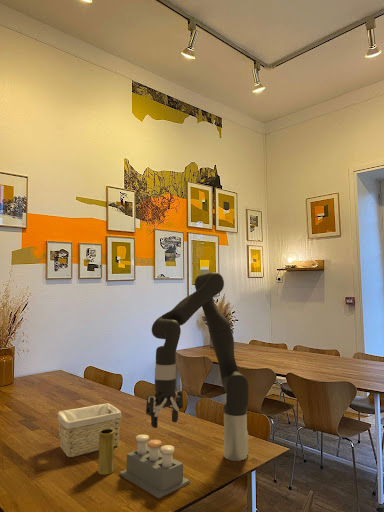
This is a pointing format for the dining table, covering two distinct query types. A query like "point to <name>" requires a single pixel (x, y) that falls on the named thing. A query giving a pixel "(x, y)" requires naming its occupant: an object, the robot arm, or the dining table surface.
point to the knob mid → (154, 450)
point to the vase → (106, 452)
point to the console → (154, 474)
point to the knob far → (142, 444)
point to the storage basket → (87, 428)
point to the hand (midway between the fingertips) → (164, 424)
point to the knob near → (167, 456)
